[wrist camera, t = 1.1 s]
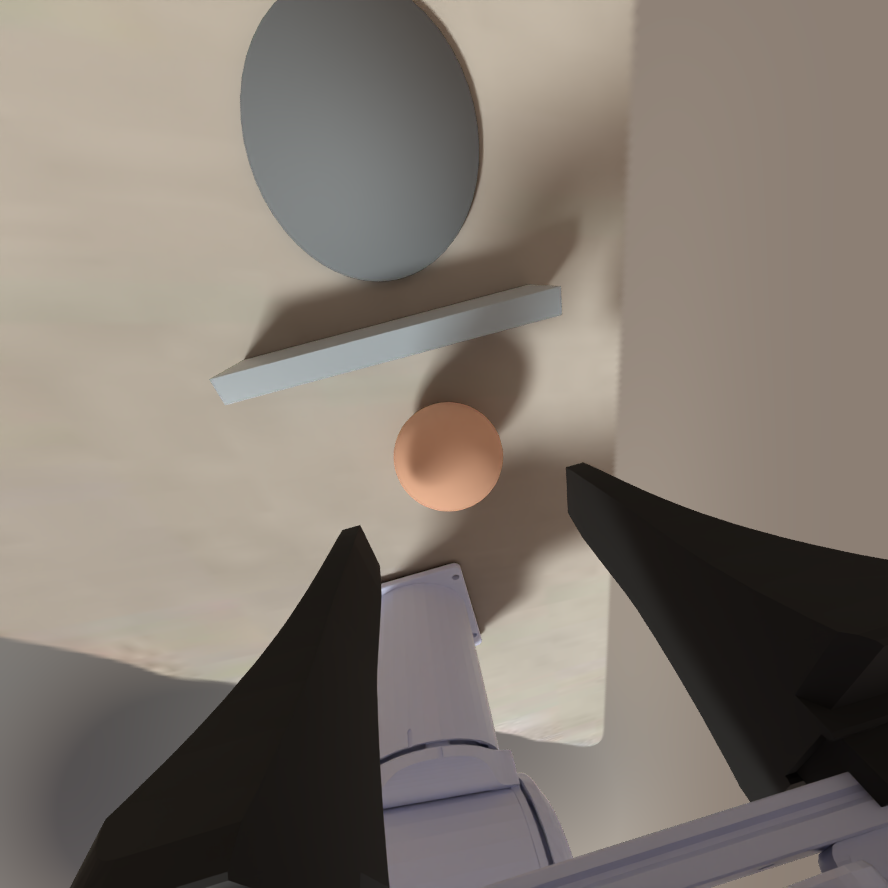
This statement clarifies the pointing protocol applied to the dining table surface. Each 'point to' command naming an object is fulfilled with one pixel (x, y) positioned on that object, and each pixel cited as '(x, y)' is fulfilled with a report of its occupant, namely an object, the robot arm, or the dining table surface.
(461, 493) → the terracotta ball
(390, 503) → the dining table surface
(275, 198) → the pad
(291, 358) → the acrylic wall
